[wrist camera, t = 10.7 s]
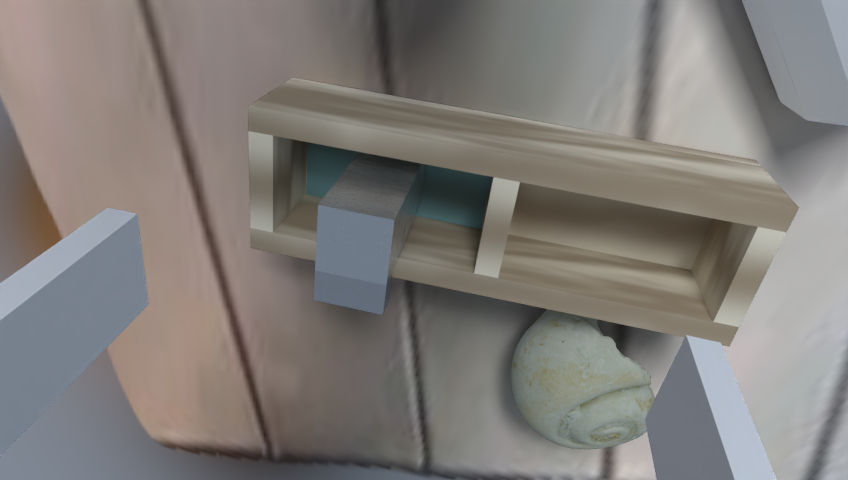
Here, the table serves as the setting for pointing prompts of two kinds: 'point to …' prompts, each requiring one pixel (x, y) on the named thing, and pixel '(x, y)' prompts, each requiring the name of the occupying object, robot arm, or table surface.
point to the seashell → (578, 384)
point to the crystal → (805, 54)
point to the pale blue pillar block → (365, 230)
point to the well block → (530, 207)
